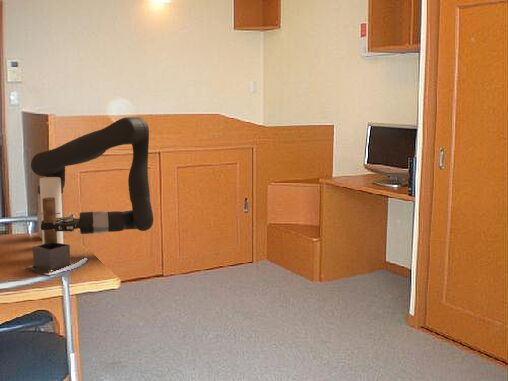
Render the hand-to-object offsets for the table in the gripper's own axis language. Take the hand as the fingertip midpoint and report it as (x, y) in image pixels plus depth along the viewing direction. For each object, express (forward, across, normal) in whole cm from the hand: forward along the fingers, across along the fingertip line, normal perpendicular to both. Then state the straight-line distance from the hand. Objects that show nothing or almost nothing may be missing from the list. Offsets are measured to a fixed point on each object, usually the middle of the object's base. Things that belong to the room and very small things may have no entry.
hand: (41, 225), depth 205 cm
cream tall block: (-3, -15, +11) cm, 19 cm away
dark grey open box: (-3, +16, +11) cm, 20 cm away
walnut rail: (-3, 0, +11) cm, 11 cm away
